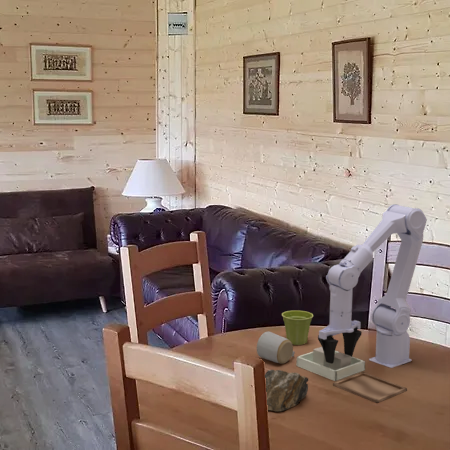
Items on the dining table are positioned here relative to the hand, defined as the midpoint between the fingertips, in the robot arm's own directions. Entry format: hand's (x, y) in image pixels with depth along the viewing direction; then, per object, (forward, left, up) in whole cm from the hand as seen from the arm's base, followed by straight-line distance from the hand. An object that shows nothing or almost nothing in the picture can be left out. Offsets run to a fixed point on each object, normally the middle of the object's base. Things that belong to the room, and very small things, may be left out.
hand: (339, 359), depth 189 cm
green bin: (0, -3, -4) cm, 5 cm away
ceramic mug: (+6, -18, -4) cm, 19 cm away
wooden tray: (+2, +12, -4) cm, 13 cm away
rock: (+25, +3, -4) cm, 26 cm away
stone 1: (0, -6, -3) cm, 7 cm away
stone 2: (0, 0, -3) cm, 3 cm away
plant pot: (-9, -24, -4) cm, 26 cm away
